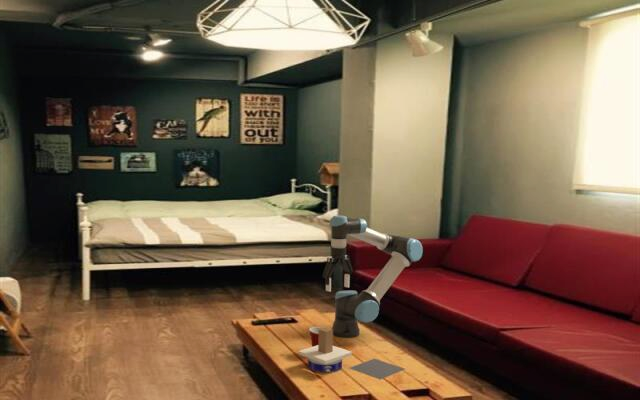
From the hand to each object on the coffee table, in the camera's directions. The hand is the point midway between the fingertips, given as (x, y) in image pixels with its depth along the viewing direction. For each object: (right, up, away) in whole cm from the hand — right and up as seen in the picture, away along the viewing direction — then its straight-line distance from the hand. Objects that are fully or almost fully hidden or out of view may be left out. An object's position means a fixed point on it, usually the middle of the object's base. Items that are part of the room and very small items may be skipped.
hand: (337, 289), depth 288 cm
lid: (-6, -25, -29) cm, 39 cm away
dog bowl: (-7, -31, -28) cm, 43 cm away
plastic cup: (-9, -30, -11) cm, 33 cm away
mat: (+17, -31, -30) cm, 47 cm away
